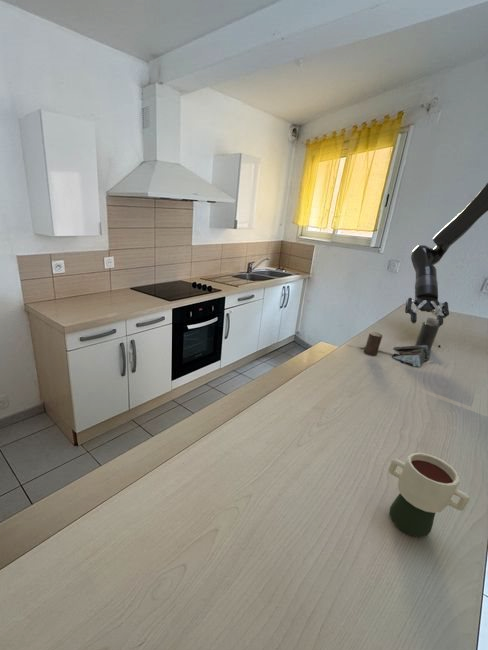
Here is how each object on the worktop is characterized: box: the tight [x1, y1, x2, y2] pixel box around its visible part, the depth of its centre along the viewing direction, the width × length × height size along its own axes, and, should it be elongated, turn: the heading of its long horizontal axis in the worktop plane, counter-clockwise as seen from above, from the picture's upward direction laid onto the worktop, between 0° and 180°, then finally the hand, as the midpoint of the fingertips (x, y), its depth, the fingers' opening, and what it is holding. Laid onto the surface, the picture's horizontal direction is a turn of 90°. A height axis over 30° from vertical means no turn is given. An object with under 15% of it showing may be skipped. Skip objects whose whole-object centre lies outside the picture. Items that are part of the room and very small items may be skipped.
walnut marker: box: [363, 331, 383, 357], centre depth 123 cm, size 4×4×8 cm
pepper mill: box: [414, 317, 440, 352], centre depth 124 cm, size 5×5×14 cm
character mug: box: [387, 452, 470, 538], centre depth 55 cm, size 11×7×13 cm, turn 44°
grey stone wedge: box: [391, 345, 431, 368], centre depth 118 cm, size 10×7×12 cm
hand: (426, 324), depth 126 cm, fingers open, 8 cm apart
